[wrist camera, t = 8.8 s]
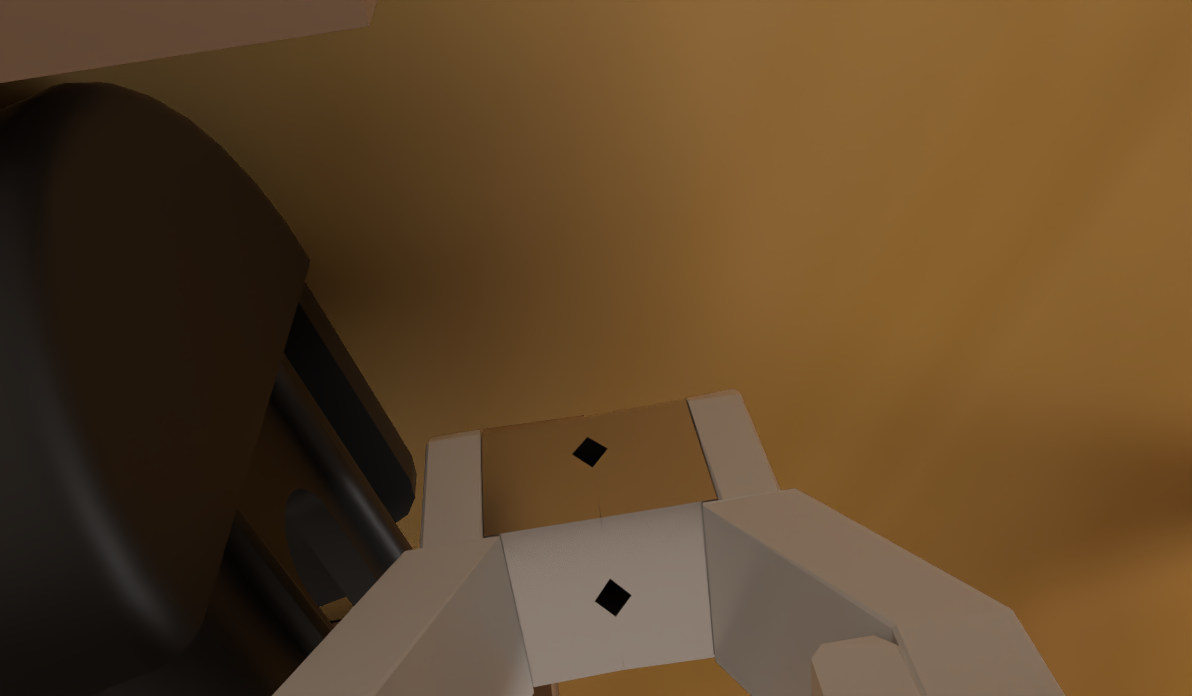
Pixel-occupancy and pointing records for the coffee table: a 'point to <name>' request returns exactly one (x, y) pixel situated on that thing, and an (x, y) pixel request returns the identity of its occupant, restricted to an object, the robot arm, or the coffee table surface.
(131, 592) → the end cap
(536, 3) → the coffee table surface
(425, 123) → the coffee table surface
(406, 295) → the coffee table surface
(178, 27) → the walnut organizer
